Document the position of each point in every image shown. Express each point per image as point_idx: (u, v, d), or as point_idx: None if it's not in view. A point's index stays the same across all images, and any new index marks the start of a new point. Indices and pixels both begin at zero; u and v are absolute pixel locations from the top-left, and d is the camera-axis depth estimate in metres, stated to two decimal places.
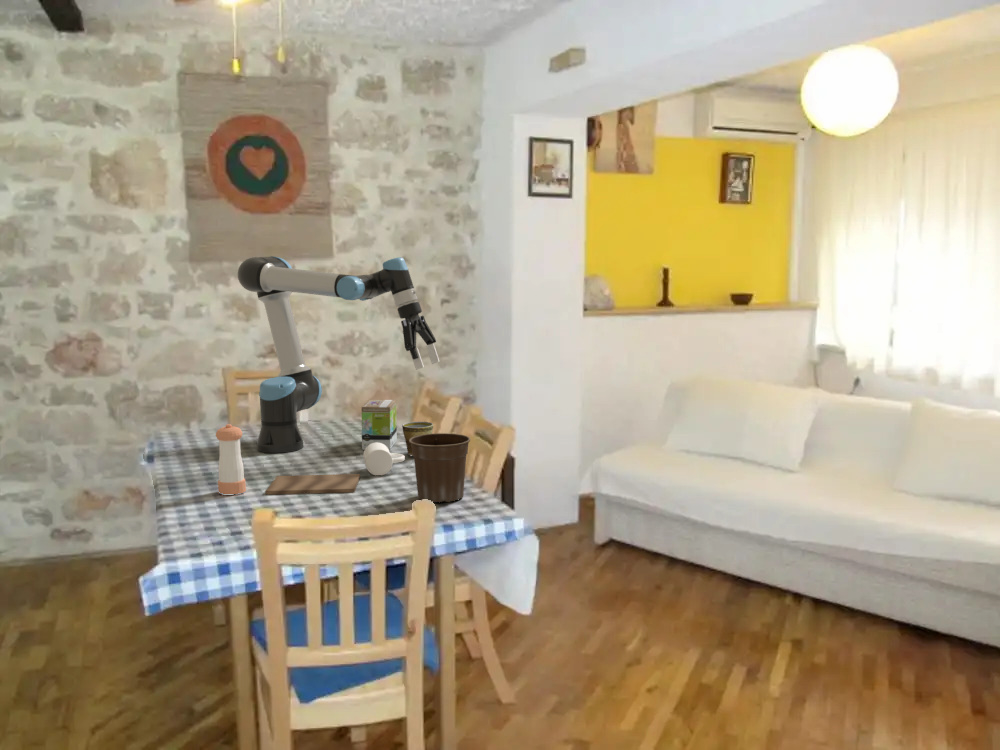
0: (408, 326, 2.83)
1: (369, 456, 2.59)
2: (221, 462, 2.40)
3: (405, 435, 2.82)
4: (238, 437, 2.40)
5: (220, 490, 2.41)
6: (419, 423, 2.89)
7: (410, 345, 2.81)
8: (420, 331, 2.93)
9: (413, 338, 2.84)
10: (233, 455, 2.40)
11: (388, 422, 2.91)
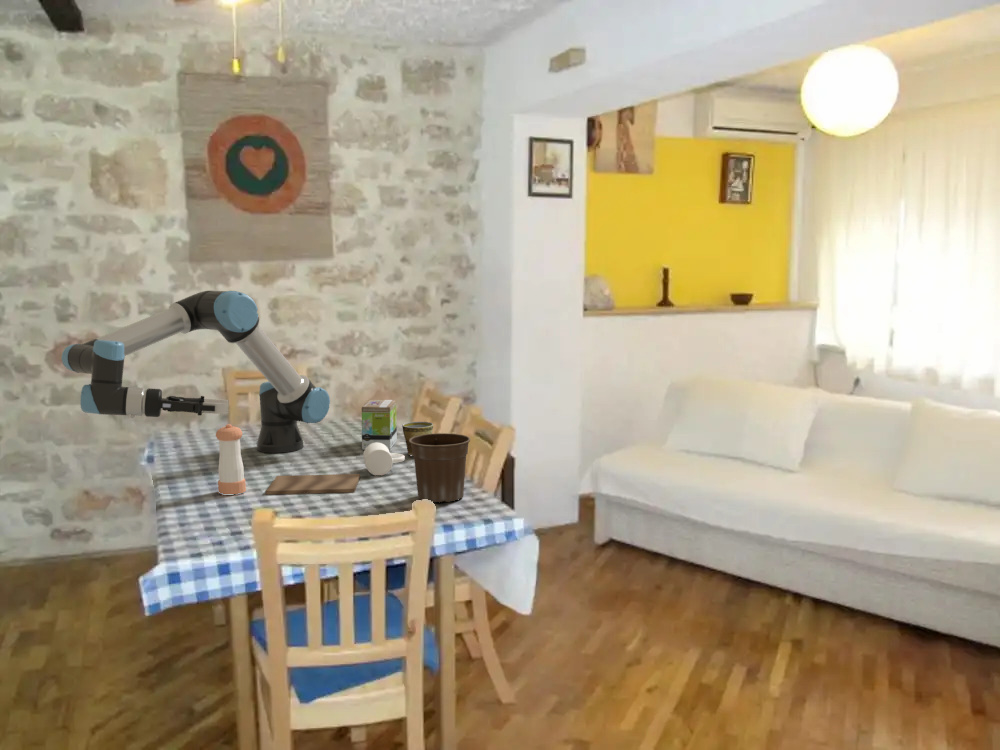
0: None
1: (369, 456, 2.59)
2: (221, 462, 2.40)
3: (405, 435, 2.82)
4: (238, 437, 2.40)
5: (220, 490, 2.41)
6: (419, 423, 2.89)
7: None
8: None
9: None
10: (233, 455, 2.40)
11: (388, 422, 2.91)
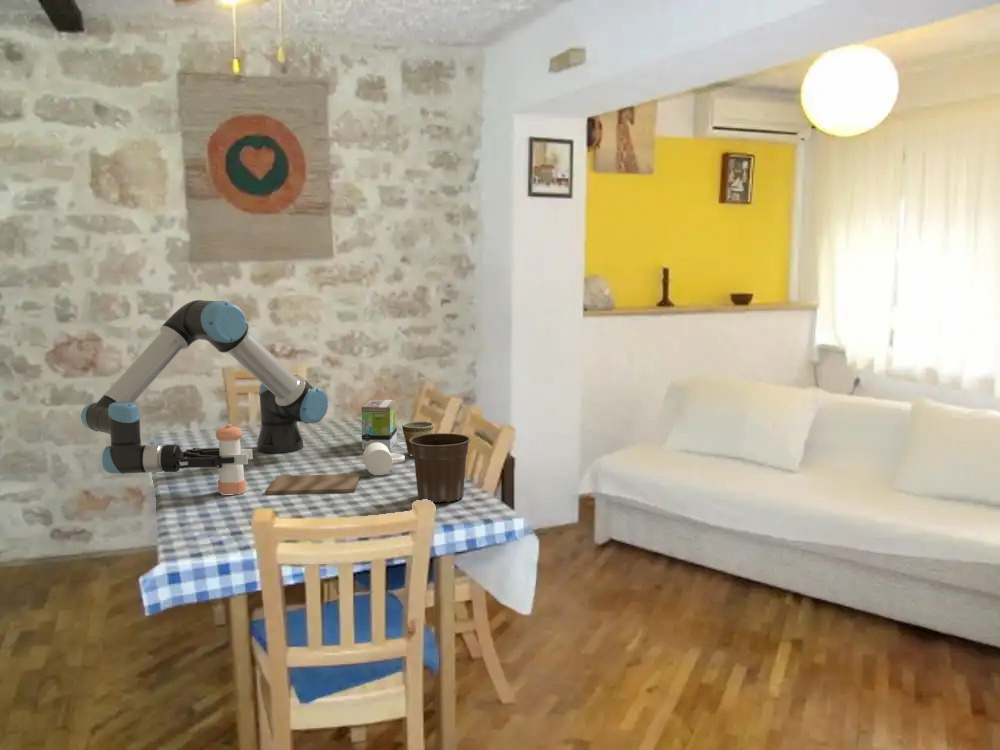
0: None
1: (369, 456, 2.59)
2: None
3: (405, 435, 2.82)
4: (238, 437, 2.40)
5: (220, 490, 2.41)
6: (419, 423, 2.89)
7: None
8: None
9: None
10: None
11: (388, 422, 2.91)
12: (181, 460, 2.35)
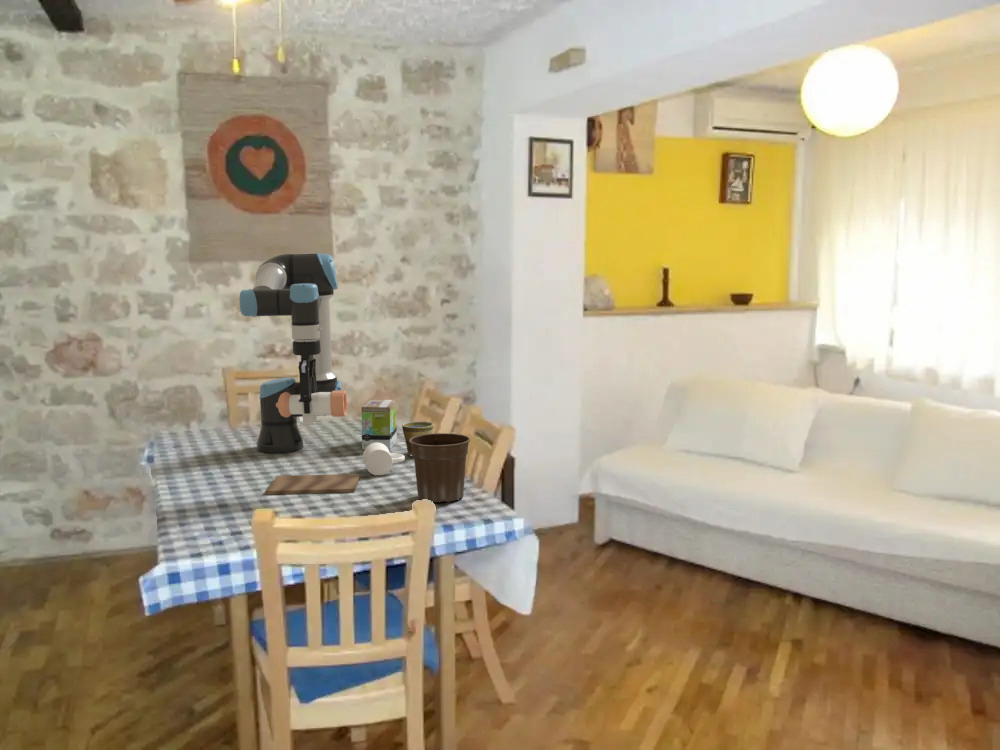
0: (307, 374, 2.39)
1: (369, 456, 2.59)
2: None
3: (405, 435, 2.82)
4: None
5: None
6: (419, 423, 2.89)
7: (307, 399, 2.40)
8: None
9: None
10: None
11: (388, 422, 2.91)
12: None
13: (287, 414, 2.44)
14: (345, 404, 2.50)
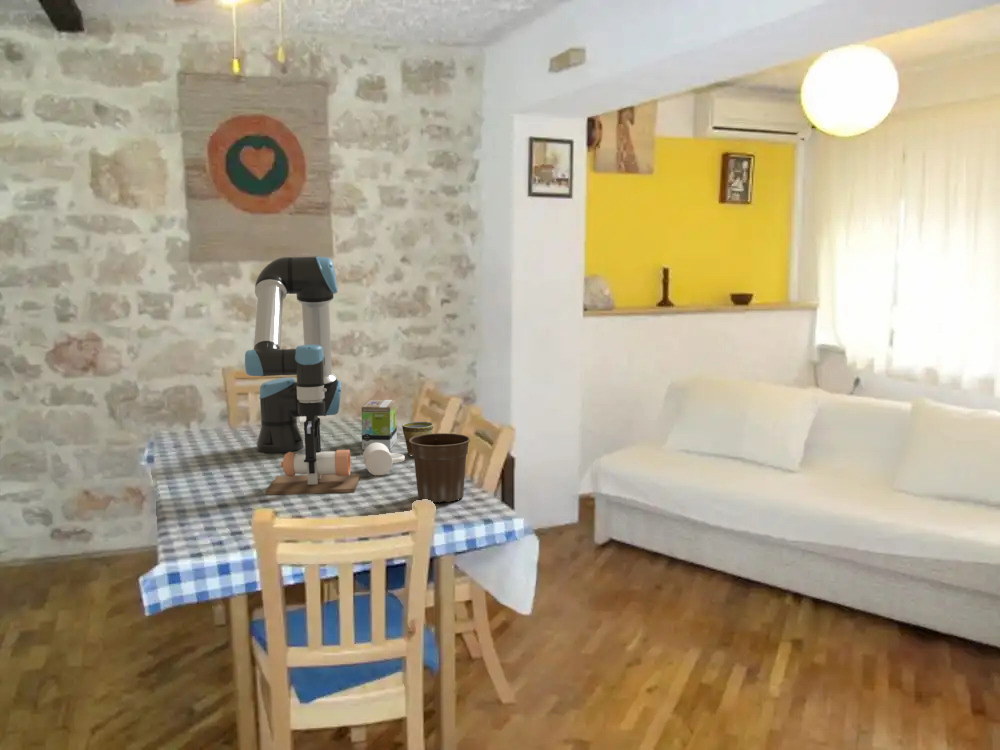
0: (312, 435, 2.42)
1: (369, 456, 2.59)
2: None
3: (405, 435, 2.82)
4: None
5: None
6: (419, 423, 2.89)
7: (313, 459, 2.43)
8: None
9: None
10: None
11: (388, 422, 2.91)
12: None
13: (291, 474, 2.47)
14: (349, 463, 2.53)
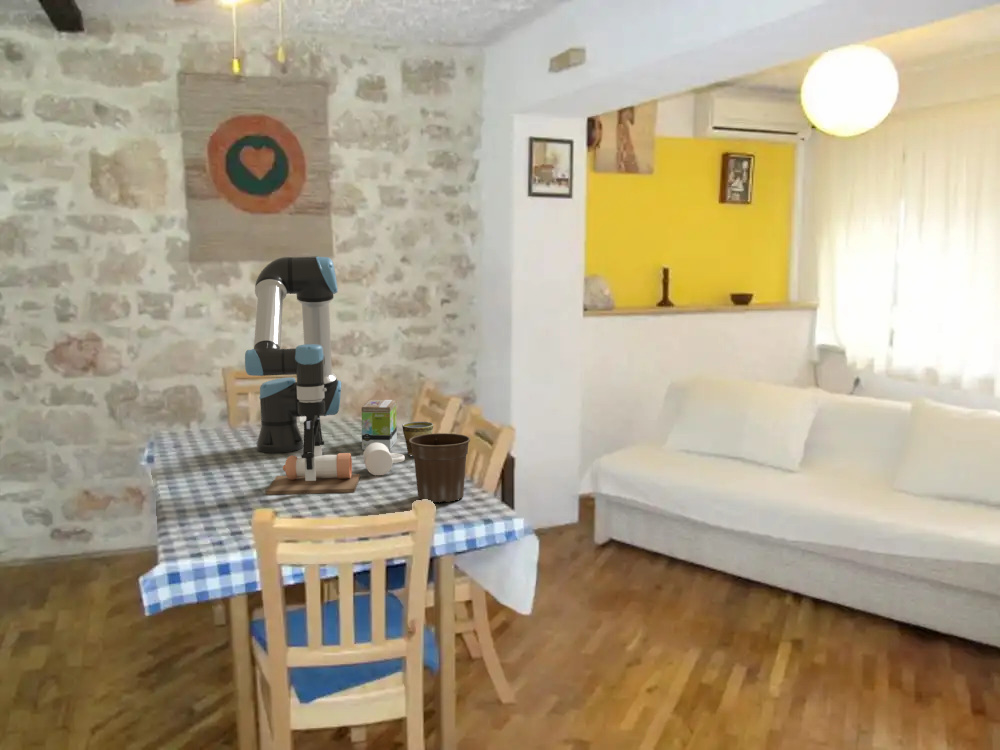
0: (311, 430, 2.41)
1: (369, 456, 2.59)
2: None
3: (405, 435, 2.82)
4: (294, 478, 2.52)
5: None
6: (419, 423, 2.89)
7: (310, 455, 2.39)
8: None
9: None
10: None
11: (388, 422, 2.91)
12: None
13: (292, 468, 2.49)
14: (350, 474, 2.55)
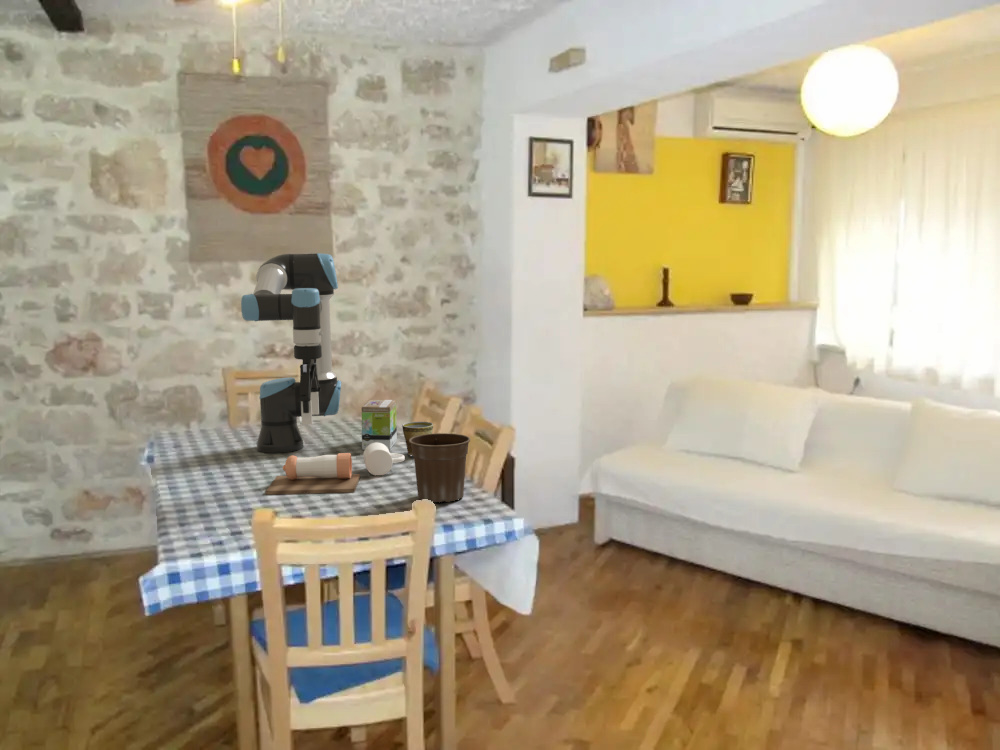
0: (308, 373, 2.39)
1: (369, 456, 2.59)
2: None
3: (405, 435, 2.82)
4: (294, 478, 2.52)
5: None
6: (419, 423, 2.89)
7: (307, 397, 2.37)
8: None
9: None
10: None
11: (388, 422, 2.91)
12: None
13: (292, 468, 2.49)
14: (350, 474, 2.55)
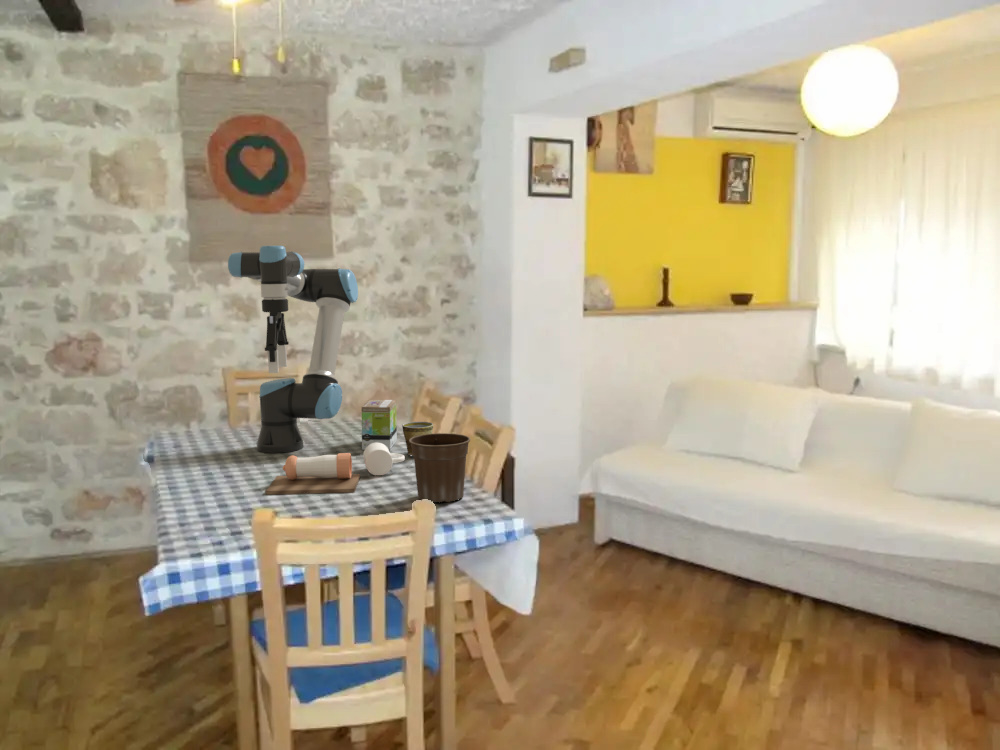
0: (274, 325, 2.54)
1: (369, 456, 2.59)
2: None
3: (405, 435, 2.82)
4: (294, 478, 2.52)
5: None
6: (419, 423, 2.89)
7: (273, 347, 2.52)
8: None
9: None
10: None
11: (388, 422, 2.91)
12: None
13: (292, 468, 2.49)
14: (350, 474, 2.55)
